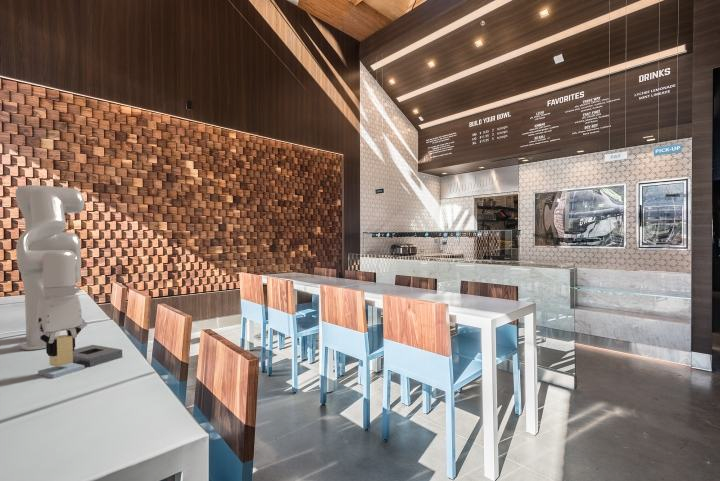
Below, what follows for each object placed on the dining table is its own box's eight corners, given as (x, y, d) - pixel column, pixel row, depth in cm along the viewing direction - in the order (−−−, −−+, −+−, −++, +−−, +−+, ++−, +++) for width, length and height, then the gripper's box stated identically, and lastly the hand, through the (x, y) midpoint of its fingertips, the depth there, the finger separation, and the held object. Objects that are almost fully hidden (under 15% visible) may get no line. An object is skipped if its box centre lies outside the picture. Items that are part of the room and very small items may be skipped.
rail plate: (60, 360, 120) (59, 353, 120) (93, 351, 129) (92, 344, 129) (89, 366, 113) (89, 358, 113) (122, 357, 122) (122, 349, 122)
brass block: (49, 365, 109) (49, 338, 109) (65, 360, 112) (64, 334, 112) (57, 366, 107) (56, 339, 107) (73, 362, 111) (72, 336, 111)
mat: (38, 374, 108) (38, 370, 108) (69, 365, 115) (69, 362, 115) (53, 377, 104) (53, 374, 104) (84, 368, 112) (84, 365, 112)
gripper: (82, 288, 119) (84, 344, 119) (17, 296, 103) (19, 360, 104) (97, 289, 116) (98, 346, 116) (32, 297, 100) (33, 364, 101)
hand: (61, 352), depth 110 cm, fingers closed on brass block, 4 cm apart
